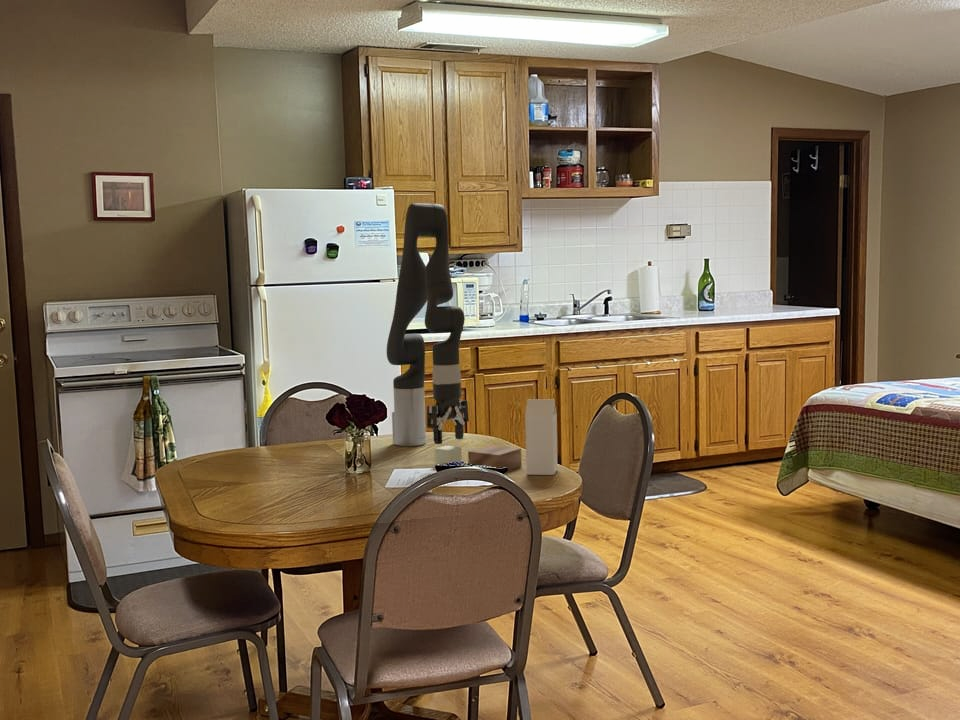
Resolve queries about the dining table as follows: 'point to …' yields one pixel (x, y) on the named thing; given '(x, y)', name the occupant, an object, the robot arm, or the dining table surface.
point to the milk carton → (541, 437)
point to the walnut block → (496, 457)
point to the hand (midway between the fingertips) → (448, 441)
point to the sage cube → (447, 454)
